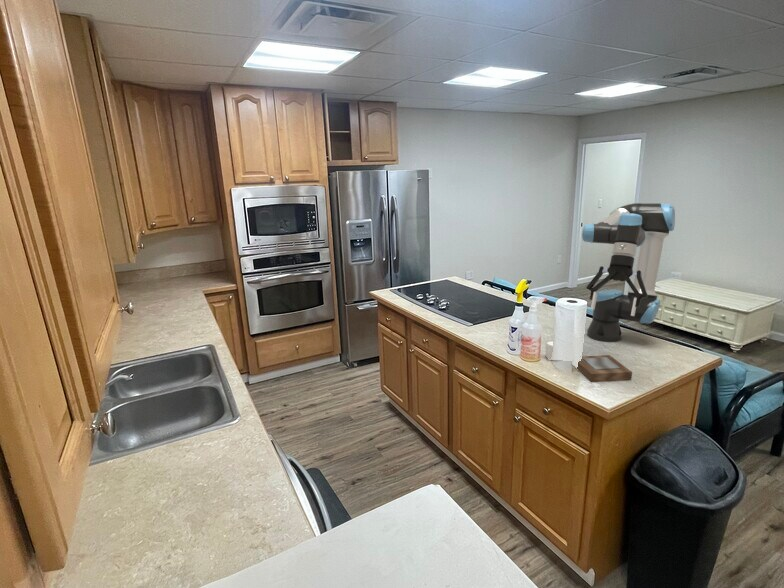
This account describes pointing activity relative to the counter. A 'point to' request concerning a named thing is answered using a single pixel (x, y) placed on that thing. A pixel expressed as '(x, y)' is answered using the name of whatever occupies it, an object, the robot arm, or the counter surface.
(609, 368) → the walnut base
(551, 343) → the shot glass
